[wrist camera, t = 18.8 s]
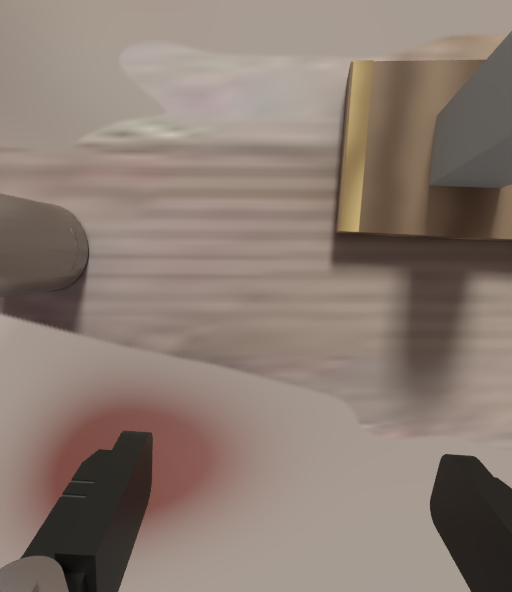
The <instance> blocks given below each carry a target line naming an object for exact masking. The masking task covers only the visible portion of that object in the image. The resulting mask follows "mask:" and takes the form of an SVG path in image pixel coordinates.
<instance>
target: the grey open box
mask: <svg viewBox="0 0 512 592" xmlns="http://www.w3.org/2000/svg"><path fill="white" fill-rule="evenodd" d="M511 184H512V31H511V32H510V34H509V35H508V36H507V37H506V38H505V39H504V40H503V41H502V43H501V44H500V45H499V46H498V47H497V48H496V49H495V50H494V52H493V53H492V54H491V55H490V56H489V57H488V58H487V60H486V61H485V62H484V63H483V64H482V65H481V66H480V67H479V69H478V70H477V71H476V72H475V73H474V74H473V75H472V76H471V78H470V79H469V80H468V81H467V82H466V83H465V84H464V85H463V87H462V88H461V89H460V90H459V91H458V92H457V93H456V94H455V96H454V97H453V98H452V99H451V100H450V101H449V102H448V104H447V105H446V106H445V107H444V108H443V109H442V110H441V111H440V113H439V114H438V115H437V118H436V127H435V135H434V144H433V153H432V161H431V170H430V179H429V185H431V186H457V187H483V188H503V187H505V186H508V185H511Z"/></svg>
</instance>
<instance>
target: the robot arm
mask: <svg viewBox="0 0 512 592" xmlns="http://www.w3.org/2000/svg"><path fill="white" fill-rule="evenodd" d="M87 258H88V242H87V238H86V234H85V231H84V229H83V227H82V226H81V224H80V222H79V221H78V220H77V219H76V217H75V216H74V215H72V214H71V213H70V212H69V211H67V210H65V209H64V208H62V207H59V206H55V205H52V204H47V203H42V202H37V201H32V200H28V199H24V198H19V197H14V196H10V195H5V194H0V297H6V296H14V295H22V294H31V293H39V292H46V291H54V290H60V289H63V288H65V287H68V286H69V285H71V284H72V283H74V282H75V281H76V280H77V279H78V278H79V276H80V275H81V273H82V272H83V270H84V268H85V265H86V262H87ZM152 441H153V438H152V433H149V432H136V431H123V432H122V433H121V434H120V437H119V438H118V440H117V442H116V443H115V445H114V447H113V449H112V450H101V449H99V450H98V451H96V452H95V453H94V454H93V455H91V456H90V457H89V458H88V459H87V460H85V461H84V462H82V464H81V466H80V467H79V469H78V470H77V472H76V473H75V475H74V476H73V478H72V480H71V483H69V484H68V486H67V487H66V489H65V490H64V492H63V495H62V497H60V498H59V500H58V501H57V503H56V505H55V506H54V508H53V509H52V511H51V512H50V514H49V515H48V517H47V518H46V520H45V522H44V523H43V525H42V526H41V528H40V529H39V531H38V533H37V534H36V536H35V537H34V539H33V540H32V542H31V543H30V545H29V547H28V548H27V550H26V551H25V553H24V555H23V556H22V557H21V558H20V559H19V560H16V561H14V562H12V563H10V564H8V565H6V566H4V567H3V568H1V569H0V592H118V591H119V587H120V585H121V582H122V579H123V576H124V573H125V570H126V567H127V564H128V561H129V558H130V555H131V552H132V549H133V546H134V543H135V540H136V538H137V534H138V532H139V528H140V526H141V523H142V520H143V517H144V514H145V511H146V508H147V505H148V501H149V497H150V492H151V484H152V444H153V442H152ZM430 511H431V517H432V520H433V523H434V525H435V527H436V529H437V531H438V533H439V534H440V536H441V538H442V540H443V542H444V543H445V545H446V547H447V549H448V550H449V552H450V554H451V556H452V558H453V560H454V561H455V563H456V565H457V567H458V569H459V570H460V572H461V574H462V576H463V578H464V579H465V581H466V583H467V585H468V587H469V588H470V590H471V592H512V489H511V488H510V487H509V486H508V485H506V484H505V483H504V482H502V481H501V480H499V479H498V478H495V477H493V476H492V474H491V473H490V472H489V471H488V470H487V469H486V467H485V466H484V465H483V464H482V463H481V462H480V461H479V460H478V459H477V458H476V457H474V456H465V455H451V454H450V455H449V454H445V455H443V456H442V458H441V460H440V464H439V468H438V472H437V475H436V479H435V483H434V487H433V491H432V495H431V499H430Z"/></svg>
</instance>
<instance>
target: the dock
mask: <svg viewBox="0 0 512 592" xmlns="http://www.w3.org/2000/svg"><path fill="white" fill-rule="evenodd" d="M485 61H486V60H436V61H374V60H373V61H354V62H351V64H350V69H349V74H348V79H347V91H346V103H345V116H344V129H343V141H342V154H341V166H340V179H339V191H338V204H337V217H336V229H335V233H337V234H358V235H379V236H400V237H421V238H442V239H463V240H484V241H505V242H512V184H511V185H508V186H505V187H503V188H483V187H457V186H431V185H429V179H430V170H431V161H432V153H433V144H434V135H435V127H436V118H437V115H438V114H439V113H440V111H441V110H442V109H443V108H444V107H445V106H446V105H447V104H448V102H449V101H450V100H451V99H452V98H453V97H454V96H455V94H456V93H457V92H458V91H459V90H460V89H461V88H462V87H463V85H464V84H465V83H466V82H467V81H468V80H469V79H470V78H471V76H472V75H473V74H474V73H475V72H476V71H477V70H478V69H479V67H480V66H481V65H482V64H483V63H484V62H485Z"/></svg>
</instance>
